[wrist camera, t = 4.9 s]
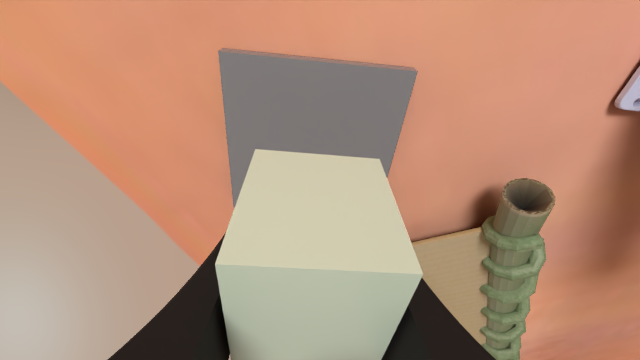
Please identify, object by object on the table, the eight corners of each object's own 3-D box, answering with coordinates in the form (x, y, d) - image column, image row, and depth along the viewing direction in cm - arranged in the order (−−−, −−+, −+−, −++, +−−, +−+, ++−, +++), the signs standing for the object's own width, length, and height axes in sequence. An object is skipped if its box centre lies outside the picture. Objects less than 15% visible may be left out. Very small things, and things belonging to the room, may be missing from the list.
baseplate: (412, 67, 15) (417, 71, 14) (374, 209, 21) (376, 216, 20) (222, 48, 14) (218, 51, 14) (236, 200, 20) (233, 207, 19)
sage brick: (379, 158, 10) (423, 274, 6) (352, 264, 14) (368, 384, 10) (255, 148, 10) (214, 264, 6) (258, 260, 13) (235, 382, 9)
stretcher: (318, 202, 21) (320, 256, 17) (527, 148, 19) (588, 195, 14) (400, 397, 43) (409, 440, 39) (499, 383, 41) (520, 427, 37)
